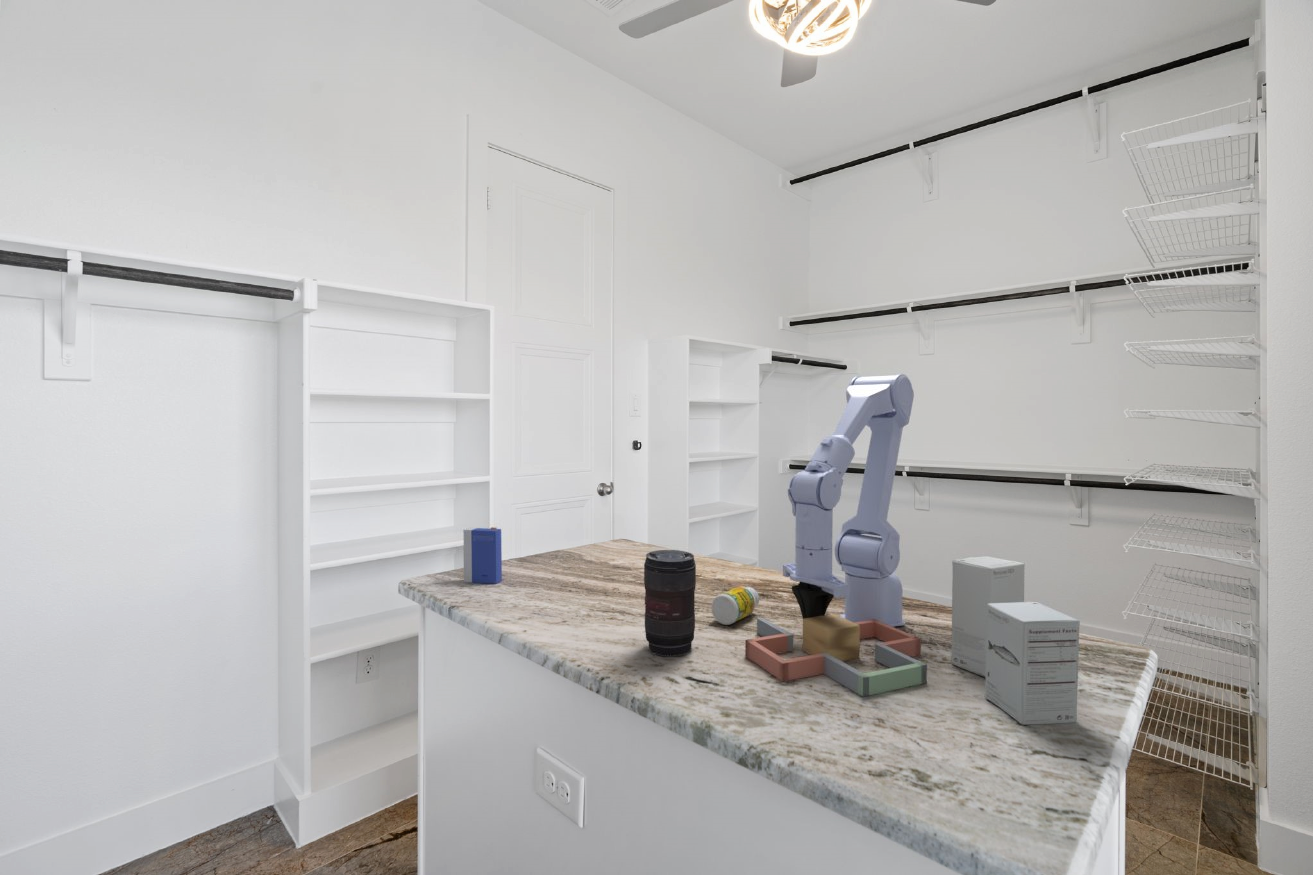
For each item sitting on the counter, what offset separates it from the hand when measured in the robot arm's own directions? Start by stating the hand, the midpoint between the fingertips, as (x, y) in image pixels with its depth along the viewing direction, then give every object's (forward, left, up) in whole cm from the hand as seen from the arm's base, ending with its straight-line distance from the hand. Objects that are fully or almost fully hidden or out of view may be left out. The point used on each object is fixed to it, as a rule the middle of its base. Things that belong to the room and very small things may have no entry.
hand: (813, 630), depth 101 cm
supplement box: (-11, +29, -2) cm, 31 cm away
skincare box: (-18, +17, -2) cm, 25 cm away
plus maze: (0, +5, -2) cm, 5 cm away
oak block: (0, +4, -2) cm, 5 cm away
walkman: (+44, -60, -2) cm, 74 cm away
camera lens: (+22, -7, -2) cm, 23 cm away
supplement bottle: (+9, -14, 0) cm, 16 cm away
